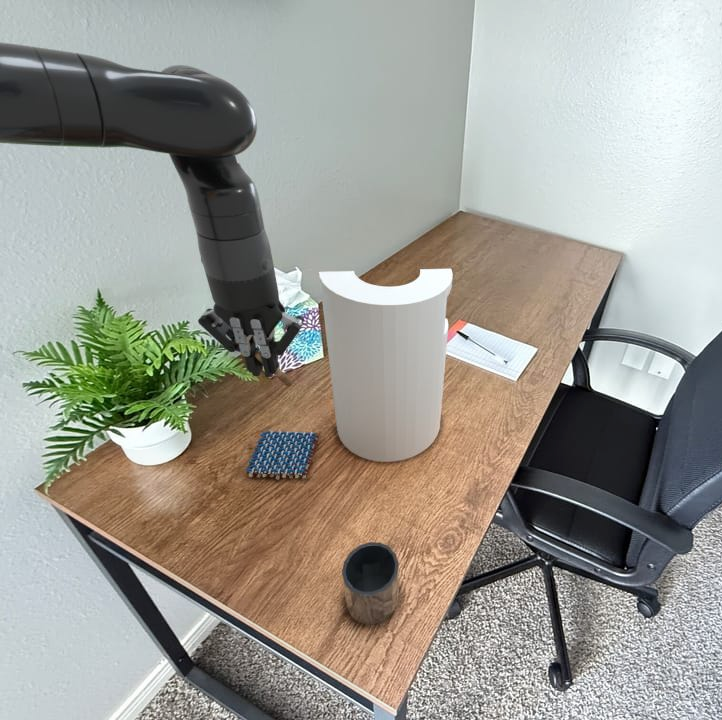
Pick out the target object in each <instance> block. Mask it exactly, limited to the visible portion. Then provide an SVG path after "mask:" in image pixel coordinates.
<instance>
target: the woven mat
mask: <svg viewBox="0 0 722 720" xmlns="http://www.w3.org/2000/svg"><path fill="white" fill-rule="evenodd" d="M259 436H260V437H261V438H259V440H257V444H256V446H255V447H254V450H255V451H254V452H253V453H251V457H252V458H251V459H250V460H248V464H249V465H248V466H247V467H246V468H245V471H246V475H248V477H250V478H252V477H253V476H255V475H256V478H258V479H260V478H261V477H262V478H267V476H268V475H269V478H274V477H275V480H276V481H279V480H280V478H282V479H286V477H288V478H289V479H290V480H291V479H293V478H294V479H298V478H300V476H302V477H301V479H302V480H305V479H307V476H308V472H309V470H310V469H311V468H312V466H311V463H312V462H313V459H312V458H313V457H314V456H313V455H314V453H315V450H316V449H317V446H316V445H317V442H318V440H319V439H318V438H319V435H317V433H316V432H313V431H310V432H306V431H304V432H301V430H300V431H277V430H275V431H273V430H267V431H263V432H262V433H260V435H259ZM275 475H276V476H275Z"/></svg>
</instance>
